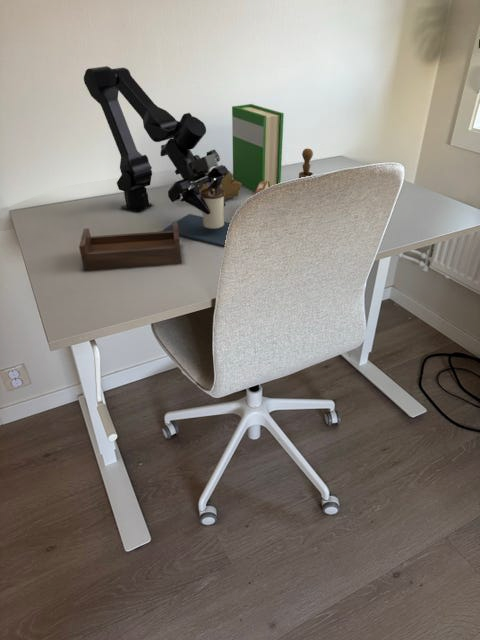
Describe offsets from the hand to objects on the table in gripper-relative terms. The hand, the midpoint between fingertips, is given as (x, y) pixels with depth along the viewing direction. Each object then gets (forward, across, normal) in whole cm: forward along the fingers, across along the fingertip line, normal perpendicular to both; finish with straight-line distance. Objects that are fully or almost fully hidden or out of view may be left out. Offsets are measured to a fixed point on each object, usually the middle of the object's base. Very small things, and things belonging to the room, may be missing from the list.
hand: (216, 210), depth 123 cm
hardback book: (-6, +38, +16) cm, 42 cm away
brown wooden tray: (0, -23, +10) cm, 25 cm away
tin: (+6, +20, +5) cm, 21 cm away
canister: (+2, 0, +4) cm, 5 cm away
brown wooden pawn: (+12, +29, -2) cm, 31 cm away
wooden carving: (-6, +19, +17) cm, 26 cm away
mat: (+2, 0, +8) cm, 8 cm away
